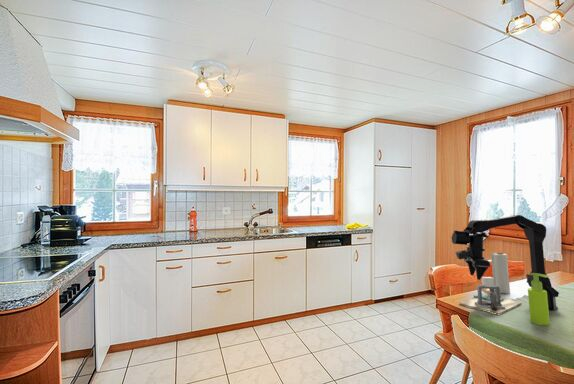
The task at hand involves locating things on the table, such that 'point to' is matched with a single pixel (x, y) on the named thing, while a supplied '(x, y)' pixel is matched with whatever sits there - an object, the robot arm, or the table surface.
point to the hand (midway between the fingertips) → (475, 277)
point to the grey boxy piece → (488, 284)
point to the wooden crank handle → (491, 298)
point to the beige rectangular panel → (500, 309)
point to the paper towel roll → (500, 271)
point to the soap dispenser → (538, 301)
